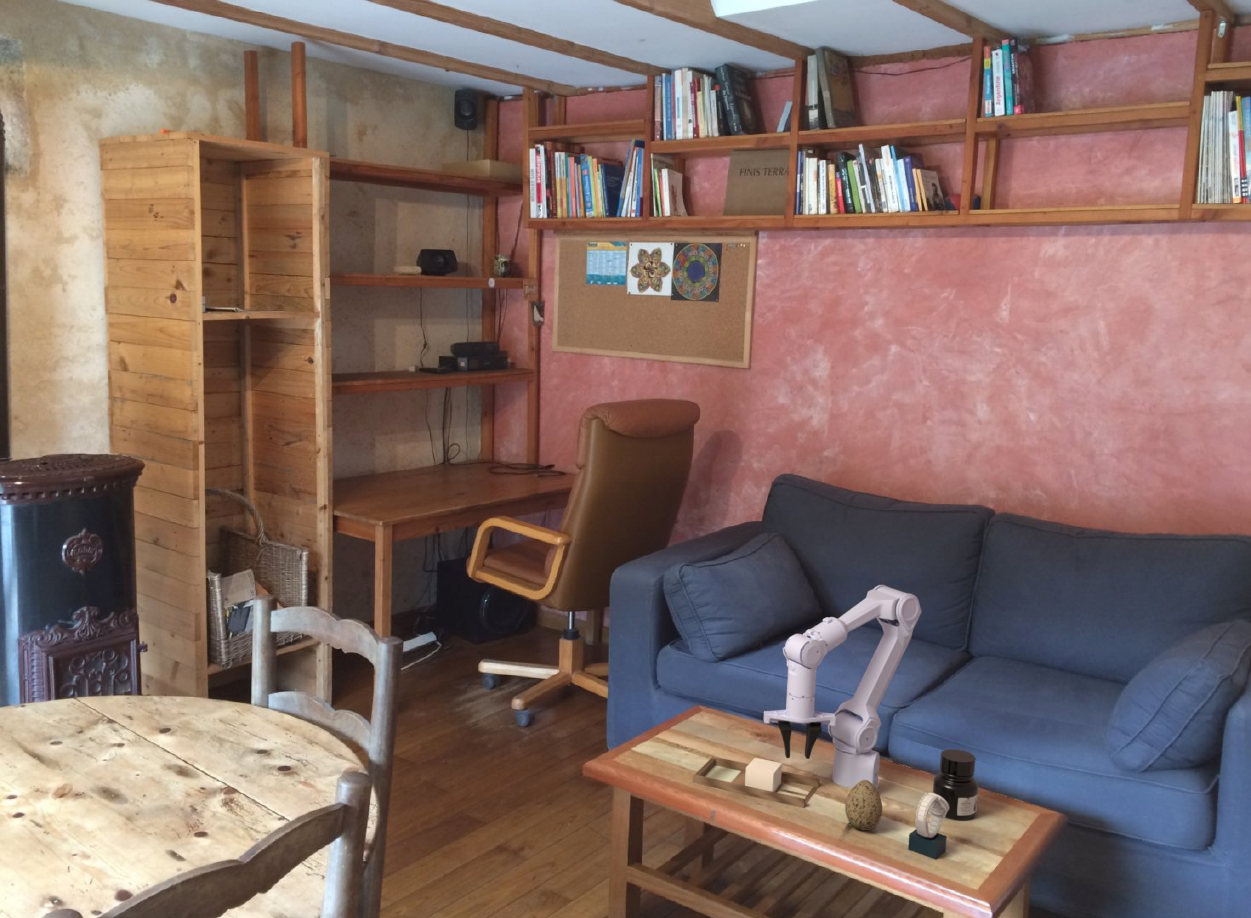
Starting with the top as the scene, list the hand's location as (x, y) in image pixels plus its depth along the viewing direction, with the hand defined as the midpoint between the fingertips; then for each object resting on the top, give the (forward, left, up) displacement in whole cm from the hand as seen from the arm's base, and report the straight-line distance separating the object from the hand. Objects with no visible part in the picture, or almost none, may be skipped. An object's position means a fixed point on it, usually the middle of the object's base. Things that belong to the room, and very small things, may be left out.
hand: (797, 756), depth 228 cm
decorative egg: (-15, +6, -10) cm, 19 cm away
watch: (-28, +9, -10) cm, 31 cm away
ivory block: (+7, 0, -8) cm, 11 cm away
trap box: (+9, 0, -9) cm, 13 cm away
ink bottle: (-30, -11, -10) cm, 34 cm away
